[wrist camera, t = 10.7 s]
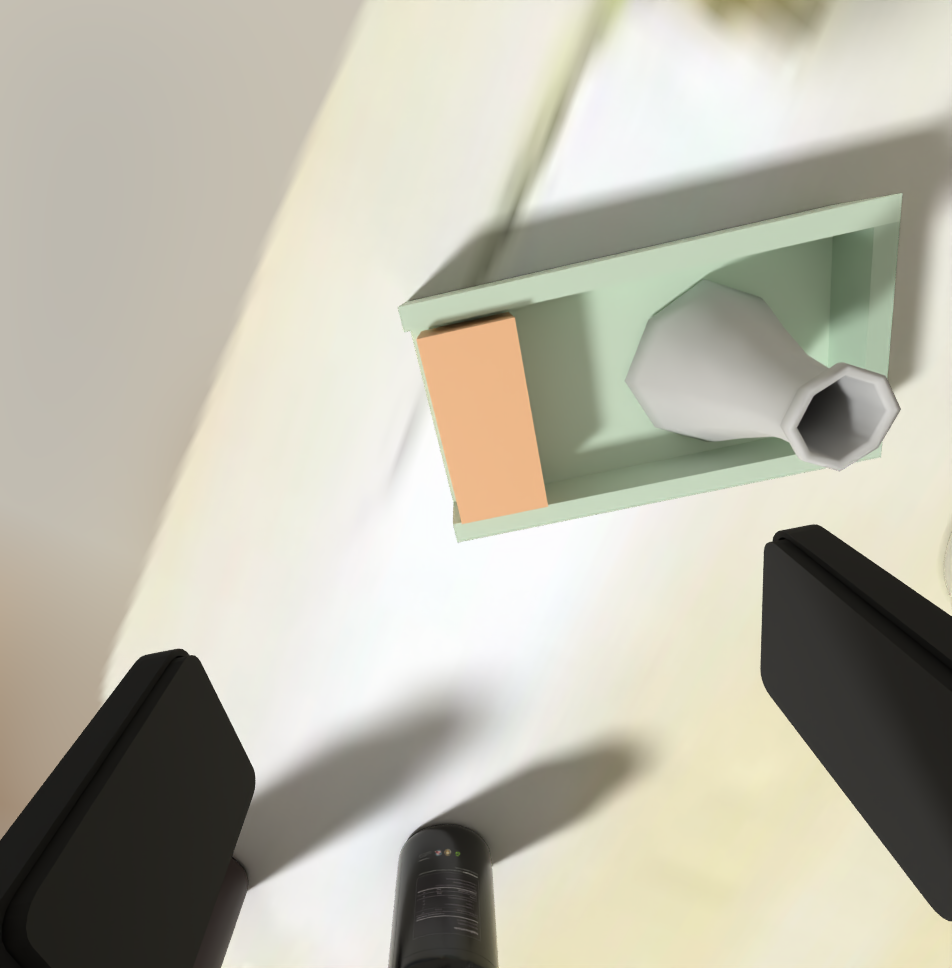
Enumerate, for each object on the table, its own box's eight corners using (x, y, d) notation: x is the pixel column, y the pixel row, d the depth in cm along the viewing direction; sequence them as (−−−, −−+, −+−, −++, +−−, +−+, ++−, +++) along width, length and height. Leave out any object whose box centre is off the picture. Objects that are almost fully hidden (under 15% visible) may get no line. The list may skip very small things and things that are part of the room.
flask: (596, 384, 26) (674, 451, 16) (700, 247, 23) (858, 235, 14) (705, 463, 27) (833, 565, 18) (812, 343, 25) (1019, 387, 16)
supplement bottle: (488, 882, 41) (498, 1111, 30) (398, 881, 41) (375, 1112, 30) (495, 821, 38) (510, 1046, 27) (400, 819, 38) (375, 1046, 27)
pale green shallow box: (839, 203, 24) (902, 192, 21) (829, 433, 28) (880, 457, 25) (406, 301, 25) (397, 307, 22) (458, 510, 29) (457, 542, 26)
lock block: (508, 311, 24) (514, 317, 21) (539, 482, 27) (548, 506, 24) (421, 331, 24) (416, 339, 21) (461, 497, 27) (462, 524, 24)
